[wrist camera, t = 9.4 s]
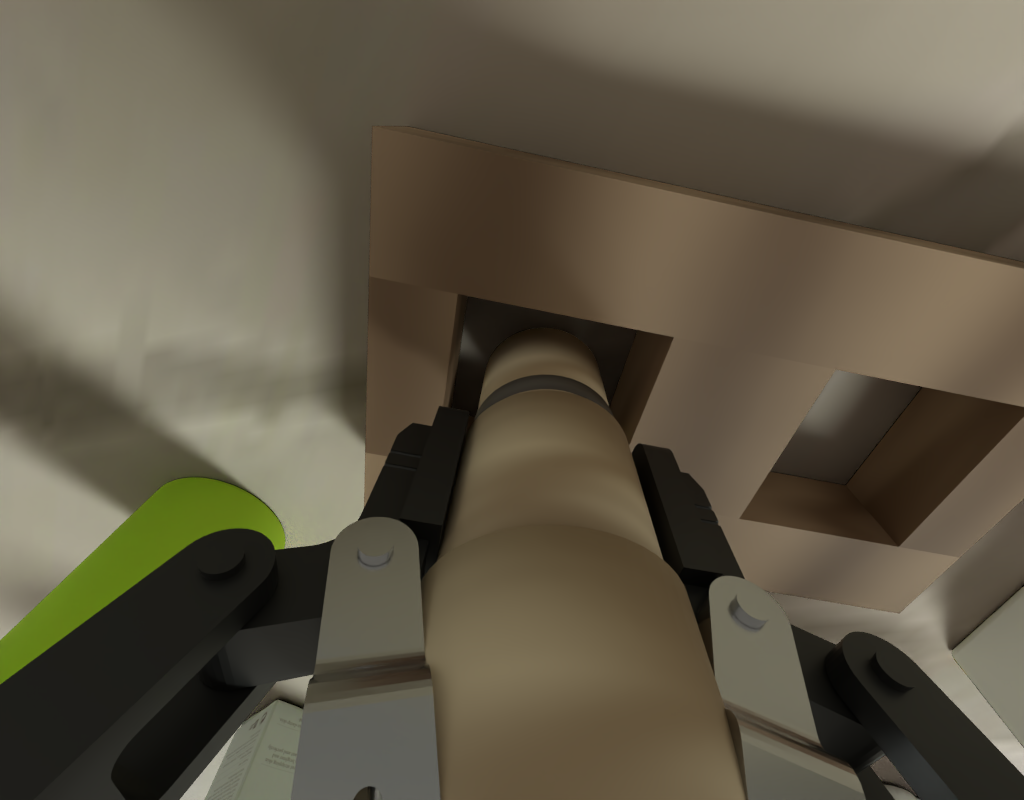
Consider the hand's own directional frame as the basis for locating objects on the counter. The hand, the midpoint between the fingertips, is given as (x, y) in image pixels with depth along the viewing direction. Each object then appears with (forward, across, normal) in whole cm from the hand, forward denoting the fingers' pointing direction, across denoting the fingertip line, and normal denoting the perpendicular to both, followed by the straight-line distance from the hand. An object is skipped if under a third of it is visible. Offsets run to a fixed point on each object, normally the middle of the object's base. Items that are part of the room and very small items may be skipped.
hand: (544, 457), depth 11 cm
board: (+5, -5, 0) cm, 7 cm away
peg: (+4, 0, 0) cm, 4 cm away
